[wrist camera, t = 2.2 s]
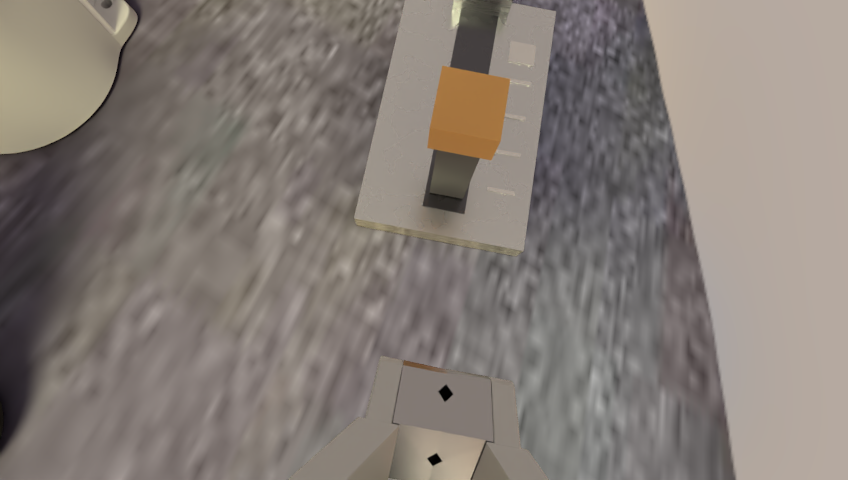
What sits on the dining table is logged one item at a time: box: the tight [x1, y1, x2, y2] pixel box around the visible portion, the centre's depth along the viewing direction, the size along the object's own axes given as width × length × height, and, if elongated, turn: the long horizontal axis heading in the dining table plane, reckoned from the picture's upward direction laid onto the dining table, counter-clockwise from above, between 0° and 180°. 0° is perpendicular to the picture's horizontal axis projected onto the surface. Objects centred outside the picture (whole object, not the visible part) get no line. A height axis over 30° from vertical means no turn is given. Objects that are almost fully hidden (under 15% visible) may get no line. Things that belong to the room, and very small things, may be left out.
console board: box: [354, 0, 556, 256], centre depth 33 cm, size 20×12×4 cm, turn 169°
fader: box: [427, 66, 510, 199], centre depth 26 cm, size 3×3×10 cm
